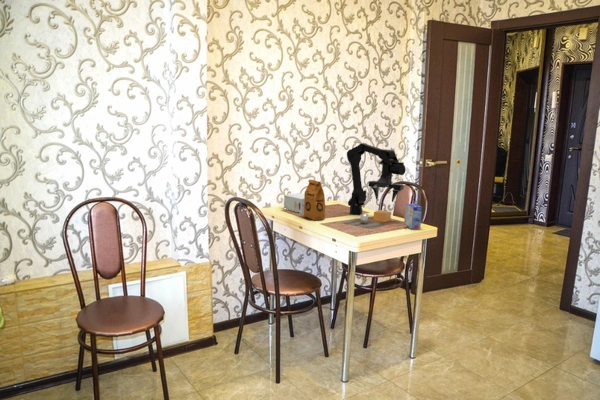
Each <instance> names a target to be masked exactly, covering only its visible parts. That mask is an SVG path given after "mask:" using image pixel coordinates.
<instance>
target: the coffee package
mask: <svg viewBox="0 0 600 400" xmlns="http://www.w3.org/2000/svg"><path fill="white" fill-rule="evenodd" d="M307 182H308V185H307V186H306V189H305V191H304V193H303V194H304V213H303V216H304V217H305V218H308V219H310V220H313V221H324V220H325V217H326V216H325V215H326V213H325V212H326V200H325V199H326V198H325V197H326V196H325V192H324V189H323V186H322V183H321V181H318V180H314V179H309V180H308V181H307Z"/></svg>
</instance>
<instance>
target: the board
mask: <svg viewBox="0 0 600 400" xmlns="http://www.w3.org/2000/svg"><path fill="white" fill-rule="evenodd" d="M360 220H361V218H353V219H350V220H346V221H343V222H341V224H343V225H348V226H354V227H359V228H365V229H368V230H369V229H371V230H376V229H378V228H381V227H384V226H386V225H388V223H385V222H379V221H371V220H368V224H360Z"/></svg>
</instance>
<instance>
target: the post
mask: <svg viewBox="0 0 600 400" xmlns="http://www.w3.org/2000/svg"><path fill="white" fill-rule="evenodd" d="M360 219H361V220H360V224H368V221H369V214H368V213H362V214H361V215H360Z"/></svg>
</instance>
